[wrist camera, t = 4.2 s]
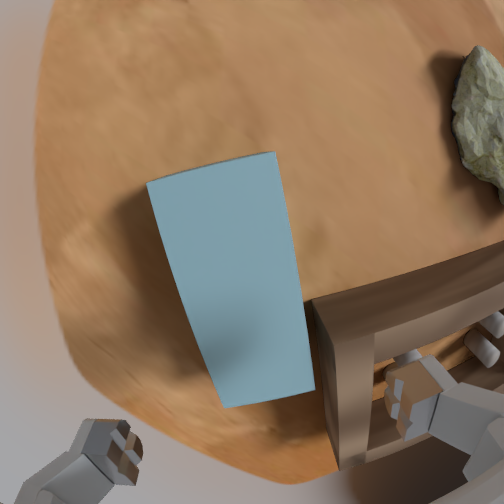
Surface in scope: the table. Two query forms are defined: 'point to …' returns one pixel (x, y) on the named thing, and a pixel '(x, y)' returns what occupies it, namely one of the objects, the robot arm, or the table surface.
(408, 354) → the frame
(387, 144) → the table surface
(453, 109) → the rock
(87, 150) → the table surface
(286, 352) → the light blue rectangular block
